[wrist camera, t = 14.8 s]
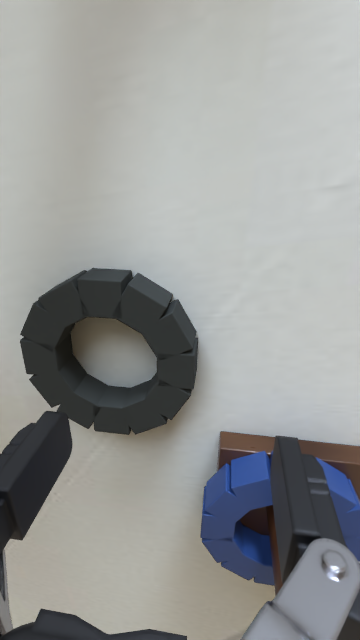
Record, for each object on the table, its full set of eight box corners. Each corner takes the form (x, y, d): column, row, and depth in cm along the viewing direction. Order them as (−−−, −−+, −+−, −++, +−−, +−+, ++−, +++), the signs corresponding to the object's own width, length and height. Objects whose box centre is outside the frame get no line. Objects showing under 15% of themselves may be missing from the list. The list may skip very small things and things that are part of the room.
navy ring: (199, 543, 24) (197, 573, 22) (208, 442, 20) (205, 469, 18) (339, 564, 23) (348, 598, 21) (377, 462, 19) (392, 493, 17)
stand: (212, 522, 25) (198, 810, 14) (220, 430, 21) (210, 721, 10) (336, 540, 24) (431, 866, 13) (368, 446, 20) (539, 789, 9)
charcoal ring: (51, 404, 22) (36, 424, 21) (27, 264, 18) (5, 274, 17) (194, 419, 21) (191, 442, 20) (200, 274, 17) (197, 286, 16)
